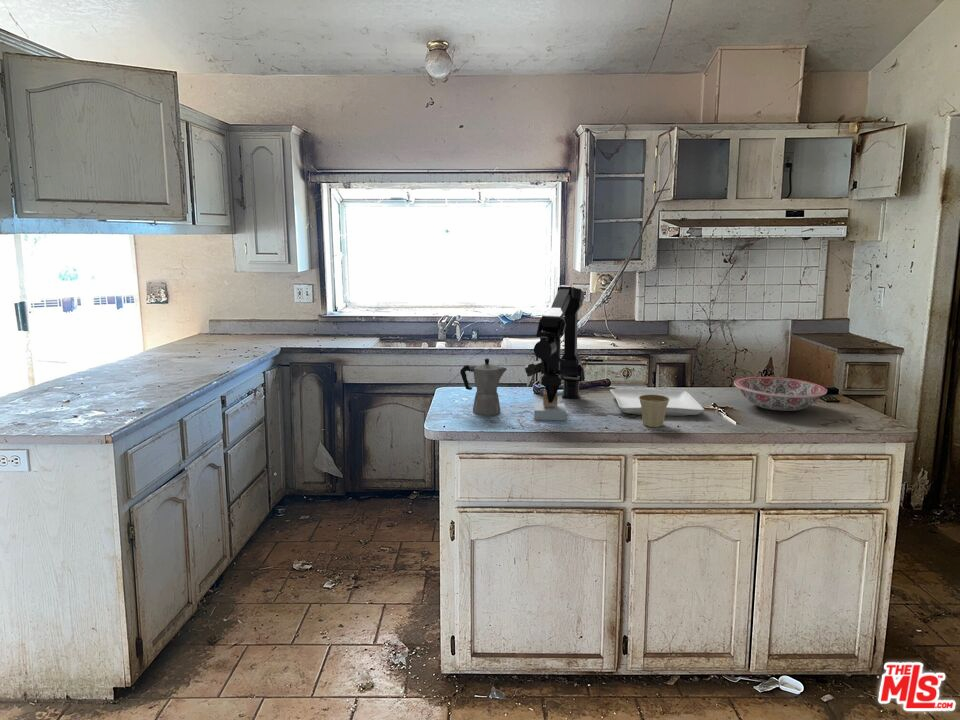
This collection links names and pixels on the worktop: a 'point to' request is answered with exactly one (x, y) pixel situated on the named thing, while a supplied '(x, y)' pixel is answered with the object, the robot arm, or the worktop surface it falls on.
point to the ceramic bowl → (780, 392)
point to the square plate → (679, 400)
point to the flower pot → (653, 409)
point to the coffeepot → (485, 387)
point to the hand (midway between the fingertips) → (550, 400)
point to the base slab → (550, 412)
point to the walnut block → (545, 399)
